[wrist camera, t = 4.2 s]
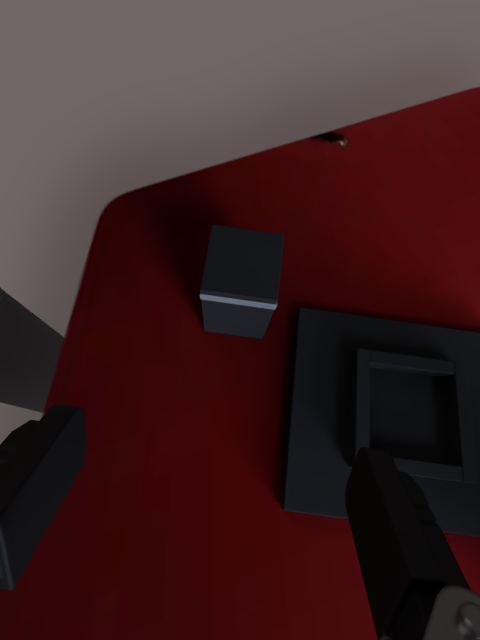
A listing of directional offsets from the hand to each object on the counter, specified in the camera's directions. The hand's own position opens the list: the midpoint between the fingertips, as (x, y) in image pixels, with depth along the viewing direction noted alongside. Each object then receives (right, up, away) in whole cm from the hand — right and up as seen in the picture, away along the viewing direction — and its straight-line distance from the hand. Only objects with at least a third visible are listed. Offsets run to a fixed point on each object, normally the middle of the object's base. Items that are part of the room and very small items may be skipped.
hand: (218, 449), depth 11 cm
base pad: (+13, -4, +18) cm, 22 cm away
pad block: (0, +5, +20) cm, 21 cm away
